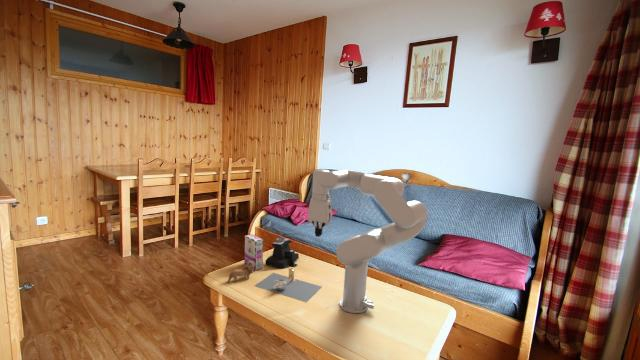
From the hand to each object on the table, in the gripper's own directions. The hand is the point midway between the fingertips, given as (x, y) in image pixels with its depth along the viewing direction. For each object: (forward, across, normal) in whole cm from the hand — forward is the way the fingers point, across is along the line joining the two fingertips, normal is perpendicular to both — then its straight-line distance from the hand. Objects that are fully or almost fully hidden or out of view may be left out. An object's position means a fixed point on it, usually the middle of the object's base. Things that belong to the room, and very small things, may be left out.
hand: (318, 235), depth 145 cm
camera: (+28, +29, -18) cm, 44 cm away
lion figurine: (+27, +36, +10) cm, 46 cm away
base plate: (+27, +12, +5) cm, 30 cm away
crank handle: (+26, +14, +6) cm, 30 cm away
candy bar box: (+27, +41, -6) cm, 50 cm away
